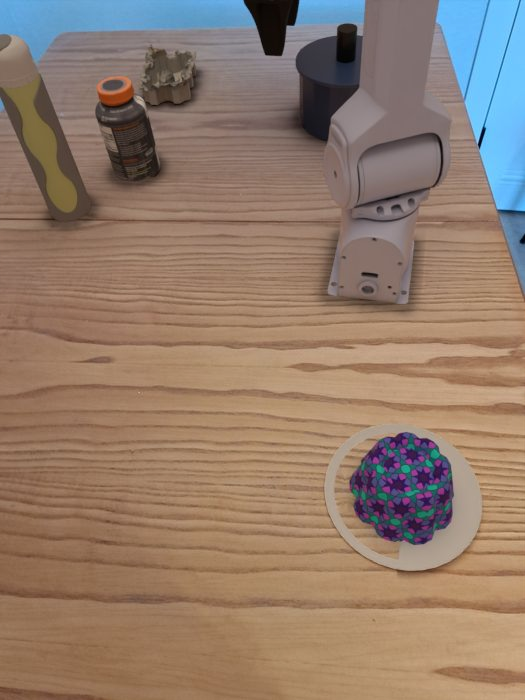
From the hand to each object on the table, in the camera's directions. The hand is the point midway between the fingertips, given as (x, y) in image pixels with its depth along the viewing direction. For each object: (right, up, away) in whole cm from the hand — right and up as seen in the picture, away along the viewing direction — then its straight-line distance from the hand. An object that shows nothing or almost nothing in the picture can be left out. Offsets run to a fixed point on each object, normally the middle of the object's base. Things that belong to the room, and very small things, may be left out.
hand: (280, 39), depth 70 cm
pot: (+9, -7, +7) cm, 13 cm away
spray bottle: (-25, -21, -1) cm, 33 cm away
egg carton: (-16, +1, +15) cm, 22 cm away
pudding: (+9, -49, -25) cm, 56 cm away
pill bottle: (-18, -15, +3) cm, 24 cm away
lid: (+8, -2, +1) cm, 8 cm away
